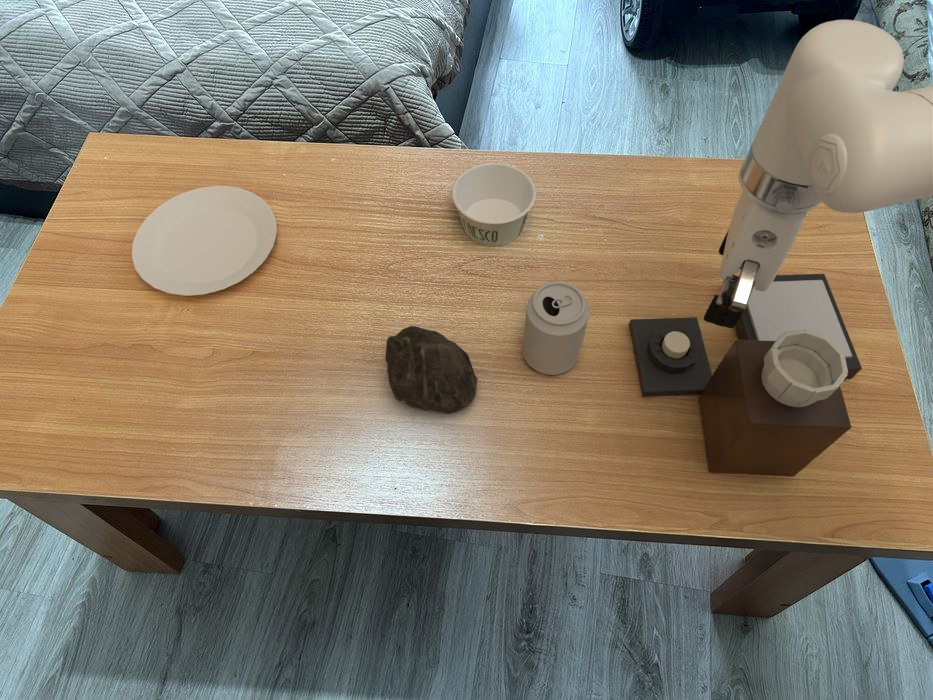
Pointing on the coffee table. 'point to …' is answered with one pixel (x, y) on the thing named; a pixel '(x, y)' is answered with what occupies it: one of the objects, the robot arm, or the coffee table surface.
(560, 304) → the can
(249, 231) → the plate
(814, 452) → the stand
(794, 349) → the bowl
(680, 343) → the button
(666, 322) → the pad
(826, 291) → the scale
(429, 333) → the rock
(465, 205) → the food container
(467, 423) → the coffee table surface
